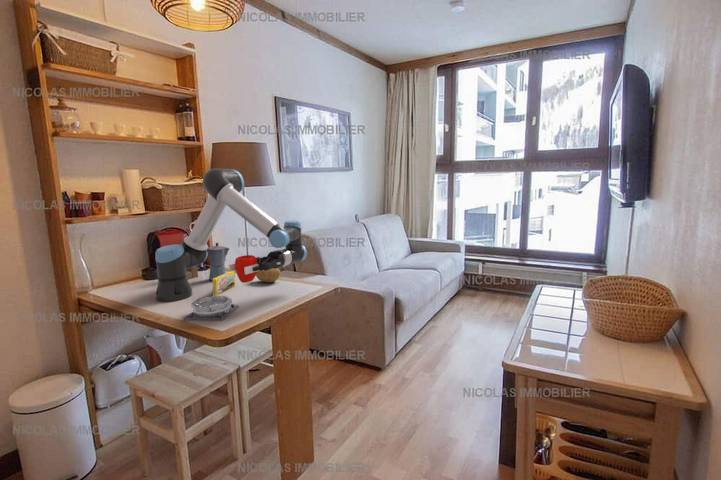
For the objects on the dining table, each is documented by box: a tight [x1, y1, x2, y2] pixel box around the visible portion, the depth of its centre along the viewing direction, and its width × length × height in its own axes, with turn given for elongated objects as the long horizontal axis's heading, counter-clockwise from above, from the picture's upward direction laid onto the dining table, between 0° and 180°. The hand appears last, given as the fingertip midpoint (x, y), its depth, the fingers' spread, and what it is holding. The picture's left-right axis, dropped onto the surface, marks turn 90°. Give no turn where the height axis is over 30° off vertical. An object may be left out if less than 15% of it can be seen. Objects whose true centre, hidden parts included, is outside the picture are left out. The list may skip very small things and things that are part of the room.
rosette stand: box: [183, 295, 240, 322], centre depth 148 cm, size 15×15×5 cm
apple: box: [234, 254, 258, 284], centre depth 149 cm, size 9×9×11 cm
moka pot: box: [203, 242, 230, 282], centre depth 199 cm, size 10×15×20 cm, turn 102°
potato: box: [255, 268, 281, 284], centre depth 193 cm, size 10×14×8 cm
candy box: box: [211, 271, 236, 296], centre depth 179 cm, size 16×2×8 cm, turn 168°
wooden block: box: [186, 266, 199, 280], centre depth 203 cm, size 4×11×18 cm, turn 146°
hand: (237, 269), depth 145 cm, fingers closed on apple, 9 cm apart
